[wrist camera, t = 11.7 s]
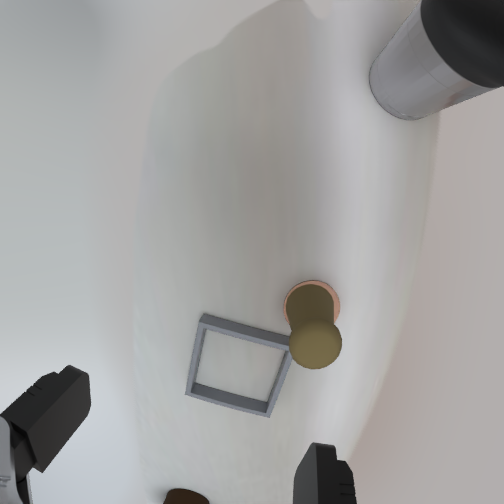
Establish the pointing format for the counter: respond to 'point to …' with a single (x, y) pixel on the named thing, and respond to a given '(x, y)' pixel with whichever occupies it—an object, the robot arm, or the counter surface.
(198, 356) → the bin frame
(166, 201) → the counter surface
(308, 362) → the cork
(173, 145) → the counter surface
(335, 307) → the salmon pink disc
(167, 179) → the counter surface
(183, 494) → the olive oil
